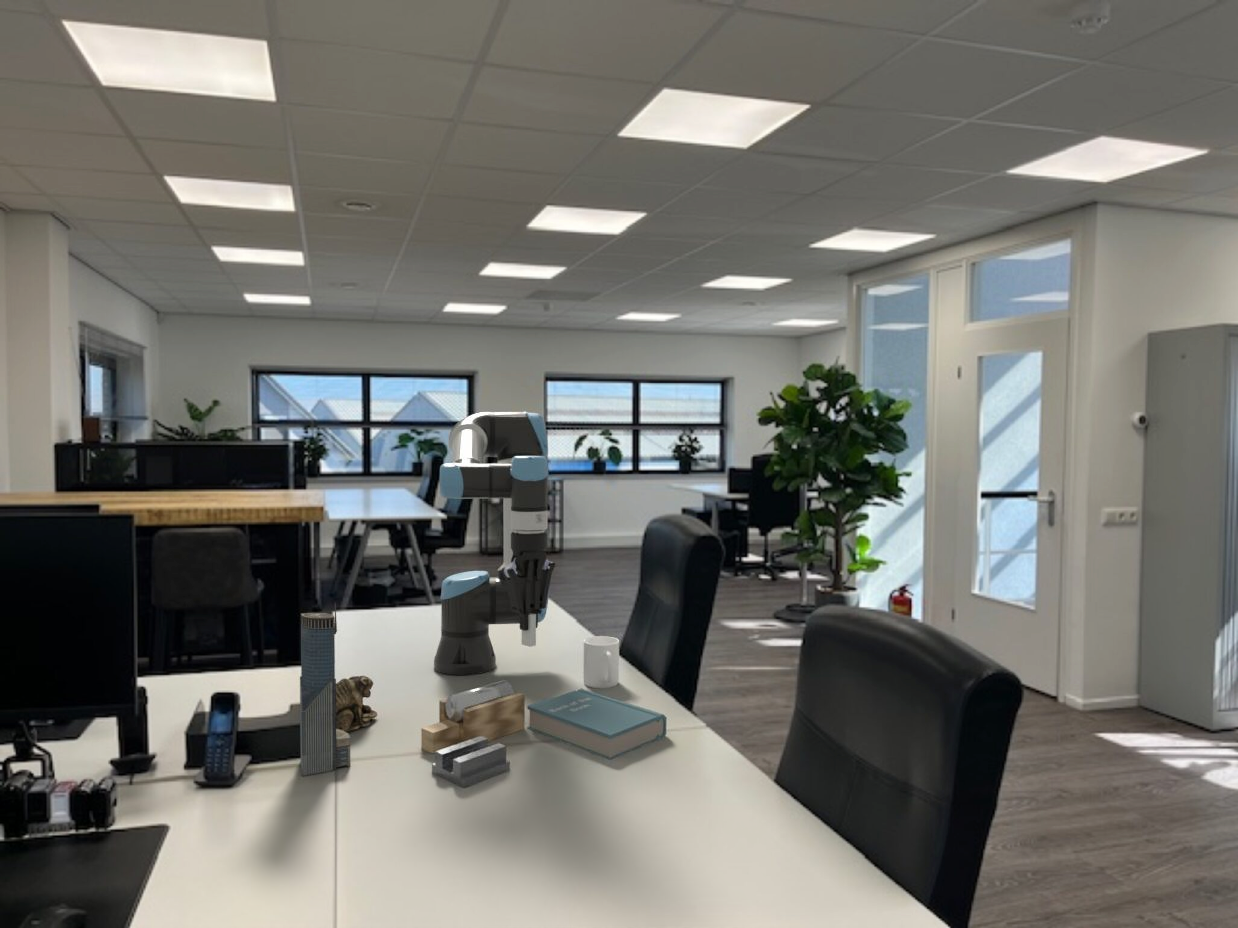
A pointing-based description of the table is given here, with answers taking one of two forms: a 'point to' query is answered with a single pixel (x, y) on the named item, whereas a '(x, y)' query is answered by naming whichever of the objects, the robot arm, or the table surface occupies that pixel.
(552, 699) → the book
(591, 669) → the cup
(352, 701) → the figurine
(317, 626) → the building
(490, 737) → the beam
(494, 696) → the axle
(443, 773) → the v block
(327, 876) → the table surface
